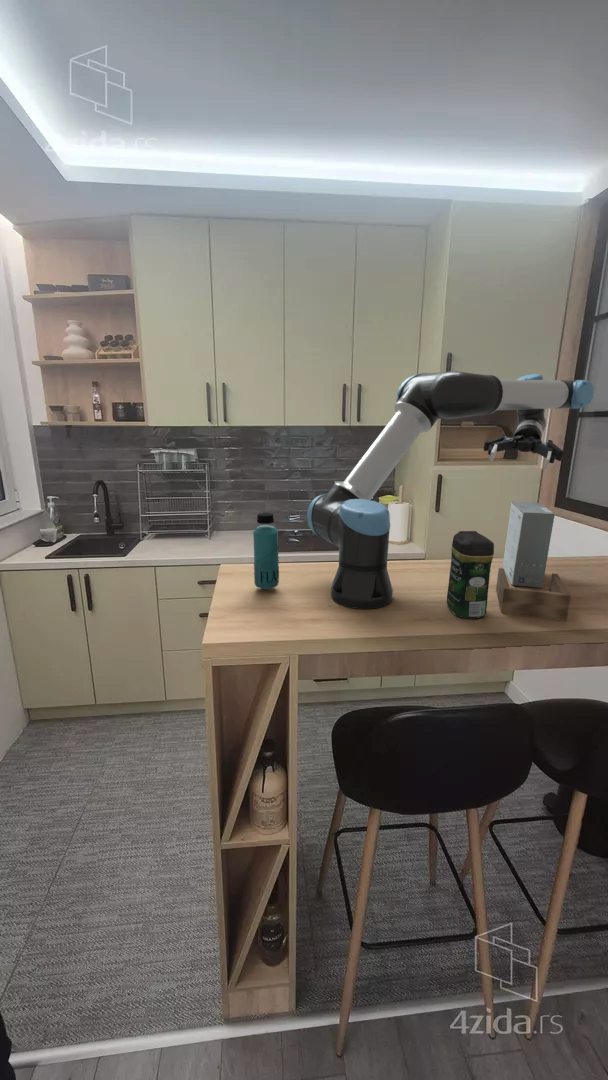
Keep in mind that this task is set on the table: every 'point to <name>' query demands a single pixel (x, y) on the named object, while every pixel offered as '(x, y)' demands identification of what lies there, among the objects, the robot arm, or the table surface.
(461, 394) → the robot arm
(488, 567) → the coffee jar
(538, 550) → the hard drive box
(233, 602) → the table surface
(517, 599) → the walnut crate
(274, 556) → the beverage bottle
